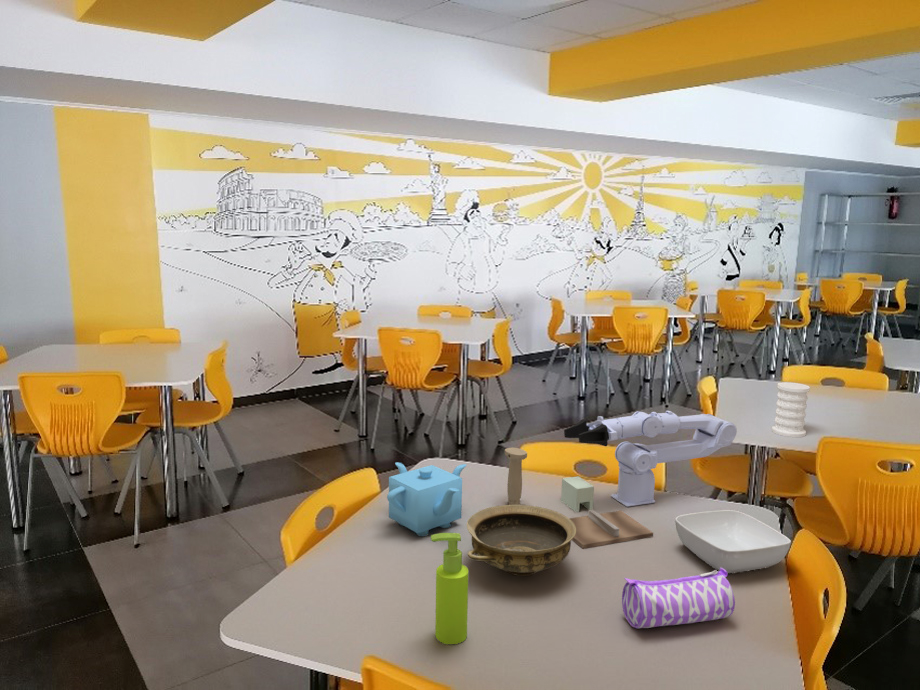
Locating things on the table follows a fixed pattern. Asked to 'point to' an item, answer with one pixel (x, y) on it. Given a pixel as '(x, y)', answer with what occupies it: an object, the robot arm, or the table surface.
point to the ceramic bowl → (520, 538)
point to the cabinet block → (577, 493)
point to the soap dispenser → (451, 592)
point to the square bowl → (731, 540)
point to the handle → (515, 474)
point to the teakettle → (425, 497)
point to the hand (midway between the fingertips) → (572, 436)
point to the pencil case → (678, 600)
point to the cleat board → (607, 529)
